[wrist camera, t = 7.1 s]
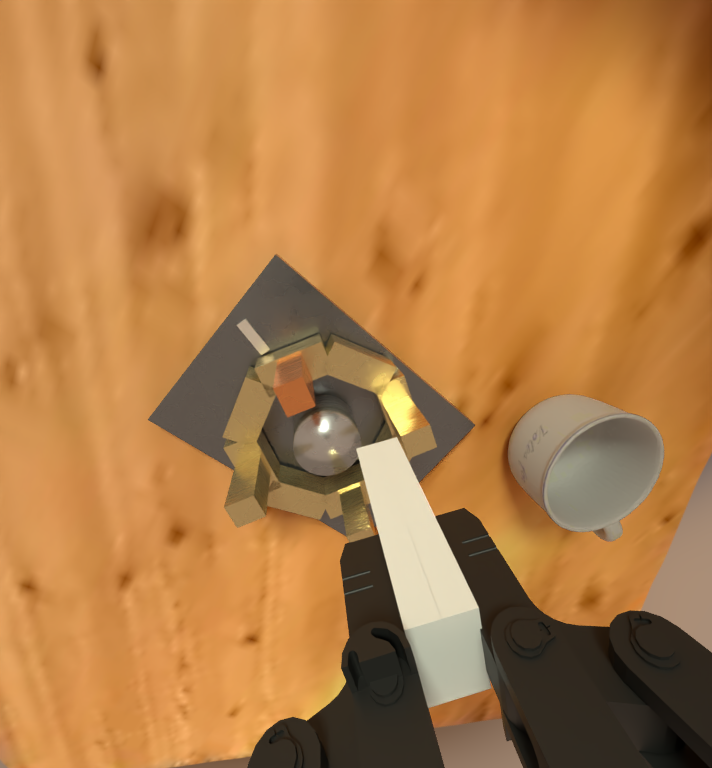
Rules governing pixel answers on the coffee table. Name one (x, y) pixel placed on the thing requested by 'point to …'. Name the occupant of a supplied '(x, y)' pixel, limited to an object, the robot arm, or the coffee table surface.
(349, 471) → the ring nut
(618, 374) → the coffee table surface
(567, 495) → the teacup
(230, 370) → the housing
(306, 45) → the coffee table surface
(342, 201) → the coffee table surface
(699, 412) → the coffee table surface
